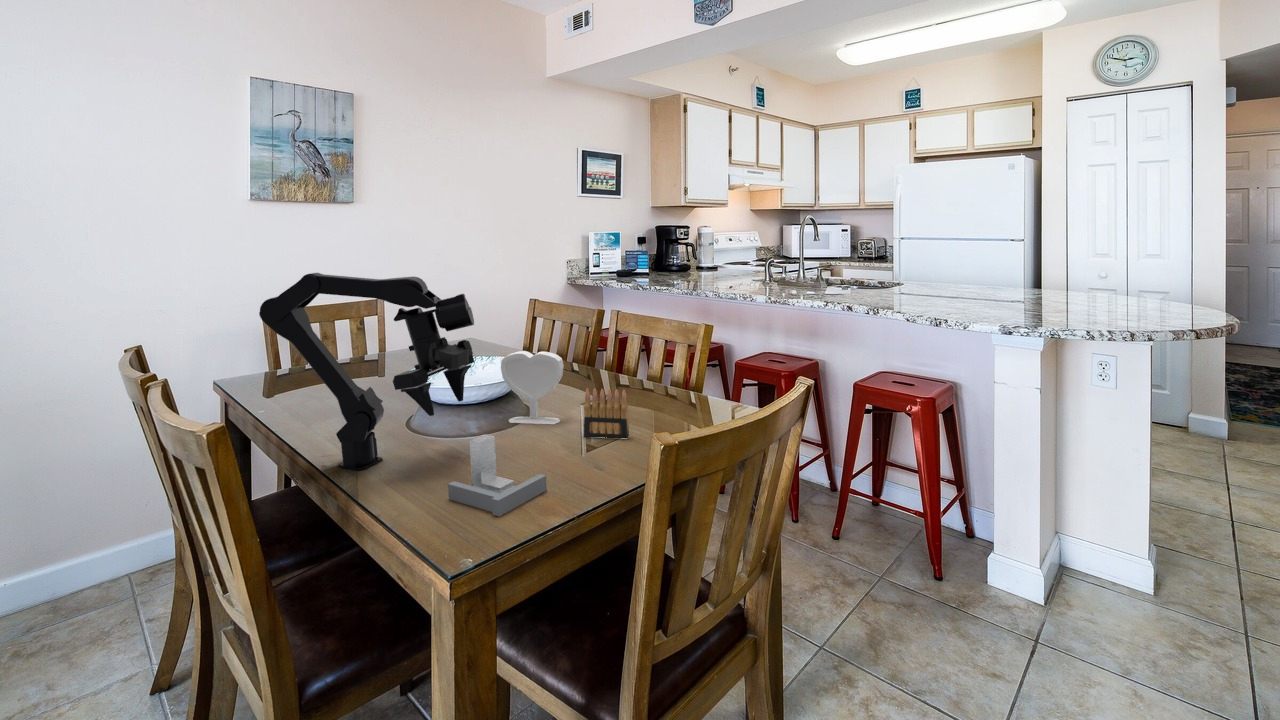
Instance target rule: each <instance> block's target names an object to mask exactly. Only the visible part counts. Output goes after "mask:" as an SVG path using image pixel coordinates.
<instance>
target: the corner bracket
mask: <svg viewBox="0 0 1280 720" xmlns="http://www.w3.org/2000/svg"><path fill="white" fill-rule="evenodd" d="M547 486H548V485H547V474H546V475H545V474H543V473H539V474H537V475H535V476H534V477H531V478H529V479H527V480H525V481H524V482H521V483H520V484H518V485H515V487H513V488H512V489H510V490H508V491H506V492H504V493H502V494H499V493H495V492H492V491H488V490H484V489H481V488H477V487H473V486H472V485H469V484H465V483H462V482H458V481H451V482H449V483H447V493H448V500H450V501H454V502H457V503H460V504H464V505H467V506H471V507H474V508H477V509H481V510H484V511H487V512H490V513H492V515H493V516H495V517H501V516H503V515H505V514H506V513H507V514H508V512H510V511H512V510H515V508H517V507H519V506H522V505H523V504H525V503H526V502H529V501H530V500H532V499H534V498H536V497H537V496H539V495H541V494H544V492H546V491H548V490H547V489H548V488H547Z"/></svg>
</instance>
